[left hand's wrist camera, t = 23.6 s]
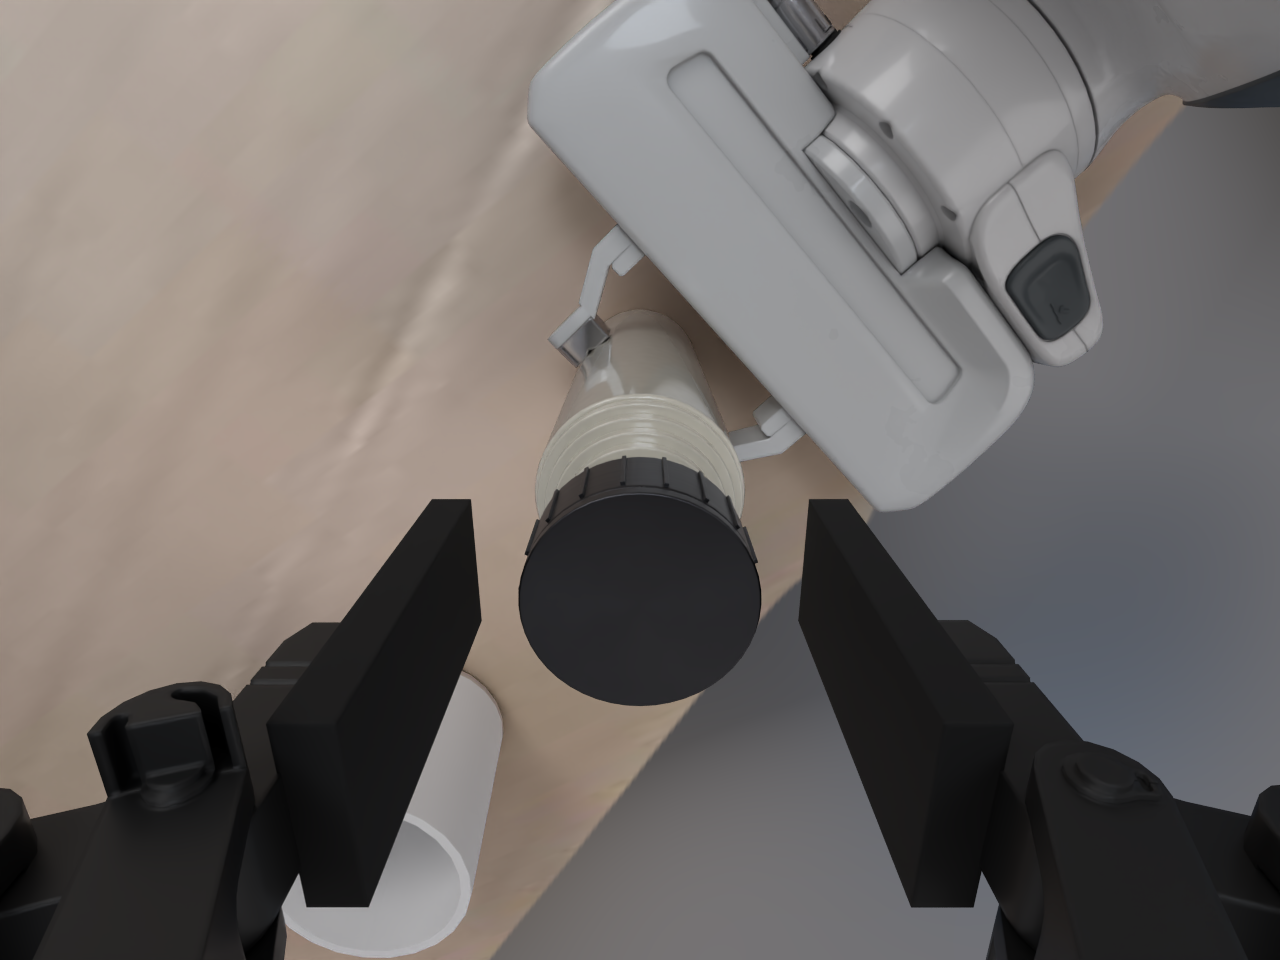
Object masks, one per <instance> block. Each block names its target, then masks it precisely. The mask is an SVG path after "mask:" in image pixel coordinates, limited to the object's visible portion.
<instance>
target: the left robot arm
mask: <svg viewBox="0 0 1280 960" xmlns="http://www.w3.org/2000/svg"><path fill="white" fill-rule="evenodd" d="M481 621H482V619H481V608H480V597H479V586H478V574H477V563H476V552H475V540H474V529H473V518H472V506H471V499H432V500H431V501H430V503H429V504H428V505H427V507H426V508H425V509H424V511H423V512H422V513H421V515H420V516H419V518H418V519H417V520H416V522H415V523H414V524H413V526H412V527H411V528H410V530H409V531H408V532H407V534H406V535H405V536H404V538H403V539H402V540H401V542H400V543H399V545H398V546H397V547H396V549H395V550H394V551H393V553H392V554H391V555H390V557H389V558H388V559H387V561H386V562H385V563H384V565H383V566H382V567H381V569H380V570H379V572H378V573H377V574H376V576H375V577H374V578H373V580H372V581H371V582H370V584H369V585H368V586H367V588H366V589H365V590H364V592H363V593H362V594H361V596H360V597H359V599H358V600H357V601H356V603H355V604H354V605H353V607H352V608H351V609H350V611H349V612H348V613H347V615H346V616H345V617H344V619H343V620H342V621H341V623H311V624H310V625H308V626H306V627H305V628H303V629H302V630H300V631H299V632H297V633H295V634H294V635H292V636H291V637H289V638H288V639H286V640H285V641H283V643H282V644H281V645H280V646H279V647H278V648H277V650H276V651H275V652H274V653H273V654H272V656H271V657H270V658H269V659H268V660H267V662H266V666H265V667H261V669H260V670H259V671H258V672H257V673H256V675H255V676H254V677H253V678H252V679H251V683H250V685H246V686H245V688H244V689H243V690H242V691H241V692H240V694H239V695H238V696H237V697H236V698H235V699H234V701H232V697H231V693H229V692H228V691H227V690H226V689H224V688H223V687H222V686H221V685H218V684H212V683H207V682H202V681H200V682H188V683H176V684H172V685H169V686H165V687H161V688H157V689H154V690H150V691H148V692H145V693H143V694H141V695H139V696H136V697H134V698H132V699H130V700H127V701H125V702H123V703H122V704H120V705H119V706H117V707H116V708H114V709H113V710H111V711H110V712H108V713H107V714H105V715H104V716H102V717H101V718H100V719H99V720H98V722H97V723H96V724H95V725H94V726H93V727H92V728H91V730H90V731H89V732H88V733H87V736H88V739H89V742H90V745H91V748H92V751H93V754H94V757H95V760H96V763H97V766H98V769H99V772H100V775H101V778H102V781H103V784H104V787H105V790H106V793H107V796H108V798H107V800H106V802H103V803H99V804H96V805H91V806H87V807H82V808H78V809H73V810H69V811H65V812H60V813H56V814H51V815H47V816H42V817H38V818H33V819H30V818H29V815H28V812H27V810H26V807H25V805H24V802H23V799H22V797H20V796H19V795H18V794H16V793H15V792H14V791H12V790H11V789H5V788H0V960H284V955H285V947H286V939H287V934H286V926H285V919H284V915H283V911H282V905H283V903H284V901H285V899H286V897H287V895H288V893H289V891H290V889H291V887H292V885H293V884H294V882H295V880H296V878H297V876H298V874H299V876H300V880H301V885H302V889H303V894H304V898H305V903H306V907H369V906H370V903H371V900H372V898H373V895H374V893H375V890H376V888H377V885H378V883H379V880H380V878H381V875H382V873H383V870H384V867H385V865H386V862H387V860H388V857H389V855H390V852H391V850H392V847H393V845H394V842H395V839H396V837H397V834H398V832H399V829H400V827H401V824H402V822H403V819H404V817H405V814H406V812H407V809H408V806H409V804H410V801H411V799H412V796H413V794H414V791H415V789H416V786H417V784H418V781H419V779H420V776H421V773H422V771H423V768H424V766H425V763H426V761H427V758H428V756H429V753H430V751H431V748H432V746H433V743H434V740H435V738H436V735H437V733H438V730H439V728H440V725H441V723H442V720H443V718H444V715H445V713H446V710H447V707H448V705H449V702H450V700H451V697H452V695H453V692H454V690H455V687H456V685H457V682H458V680H459V677H460V674H461V672H462V669H463V667H464V664H465V662H466V659H467V657H468V654H469V652H470V649H471V647H472V644H473V641H474V639H475V636H476V634H477V631H478V629H479V626H480V624H481ZM798 621H799V624H800V626H801V629H802V631H803V634H804V636H805V639H806V641H807V644H808V647H809V649H810V652H811V654H812V657H813V659H814V662H815V664H816V667H817V669H818V672H819V674H820V677H821V679H822V682H823V685H824V687H825V690H826V692H827V695H828V697H829V700H830V702H831V705H832V707H833V710H834V713H835V715H836V718H837V720H838V723H839V725H840V728H841V730H842V733H843V735H844V738H845V740H846V743H847V745H848V748H849V750H850V753H851V756H852V758H853V761H854V763H855V766H856V768H857V771H858V773H859V776H860V778H861V781H862V784H863V786H864V789H865V791H866V794H867V796H868V799H869V801H870V804H871V806H872V809H873V812H874V814H875V817H876V819H877V822H878V824H879V827H880V829H881V832H882V834H883V837H884V839H885V842H886V845H887V847H888V850H889V852H890V855H891V857H892V860H893V862H894V865H895V867H896V870H897V872H898V875H899V878H900V880H901V883H902V885H903V888H904V890H905V893H906V895H907V898H908V900H909V903H910V906H911V907H974V903H975V898H976V894H977V889H978V885H979V880H980V876H981V871H982V872H983V874H984V876H985V878H986V880H987V882H988V884H989V885H990V887H991V889H992V891H993V893H994V895H995V897H996V899H997V901H998V903H999V907H998V911H997V915H996V919H995V923H994V928H993V932H992V936H991V940H990V944H989V949H988V953H987V957H986V960H1280V785H1275V786H1270V787H1269V788H1267V789H1266V790H1265V791H1263V792H1262V793H1261V794H1259V797H1258V799H1257V802H1256V805H1255V807H1254V810H1253V812H1252V815H1251V816H1248V815H1244V814H1239V813H1235V812H1230V811H1225V810H1221V809H1217V808H1212V807H1207V806H1203V805H1198V804H1194V803H1190V802H1185V801H1181V800H1178V799H1175V798H1173V796H1172V795H1171V794H1170V792H1169V791H1168V790H1167V788H1166V787H1165V786H1164V784H1163V783H1162V781H1161V780H1160V779H1159V778H1158V777H1157V776H1156V775H1154V774H1153V773H1152V772H1150V771H1149V770H1148V769H1147V768H1145V767H1144V766H1143V765H1142V764H1140V763H1139V762H1137V761H1135V760H1133V759H1131V758H1129V757H1127V756H1125V755H1123V754H1121V753H1120V752H1118V751H1116V750H1114V749H1110V748H1107V747H1104V746H1100V745H1097V744H1094V743H1091V742H1086V741H1083V740H1082V739H1081V737H1080V736H1079V735H1078V734H1077V733H1076V731H1075V730H1074V729H1073V728H1072V727H1071V726H1070V724H1069V723H1068V722H1067V721H1066V720H1065V719H1064V717H1063V716H1062V715H1061V714H1060V713H1059V712H1058V710H1057V709H1056V708H1055V707H1054V706H1053V704H1052V703H1051V702H1050V701H1049V700H1048V698H1047V697H1046V696H1045V695H1044V694H1043V693H1042V691H1041V690H1040V689H1039V688H1038V687H1037V686H1036V684H1035V683H1034V682H1030V677H1029V676H1028V675H1027V674H1026V673H1025V671H1024V670H1023V669H1022V668H1021V667H1020V666H1019V665H1018V664H1015V660H1014V658H1013V657H1012V656H1011V655H1010V654H1009V653H1008V651H1007V650H1006V649H1005V648H1004V647H1003V645H1002V644H1001V643H1000V642H999V641H998V640H997V639H996V638H995V637H993V636H992V635H990V634H989V633H987V632H986V631H984V630H982V629H981V628H979V627H978V626H976V625H975V624H973V623H971V622H970V621H968V620H937V619H936V617H935V616H934V615H933V613H932V612H931V611H930V609H929V608H928V607H927V605H926V604H925V603H924V601H923V600H922V599H921V597H920V596H919V594H918V593H917V592H916V590H915V589H914V588H913V586H912V585H911V584H910V582H909V581H908V580H907V578H906V577H905V576H904V574H903V573H902V572H901V570H900V569H899V567H898V566H897V565H896V563H895V562H894V561H893V560H892V558H891V557H890V555H889V554H888V553H887V551H886V550H885V549H884V547H883V546H882V545H881V543H880V542H879V540H878V539H877V538H876V536H875V535H874V534H873V532H872V531H871V530H870V528H869V527H868V526H867V524H866V523H865V522H864V520H863V519H862V518H861V516H860V515H859V513H858V512H857V511H856V509H855V508H854V507H853V505H852V504H851V503H850V501H849V500H848V499H809V507H808V518H807V529H806V540H805V552H804V563H803V574H802V586H801V597H800V608H799V619H798Z"/></svg>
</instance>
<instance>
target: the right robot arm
mask: <svg viewBox="0 0 1280 960" xmlns="http://www.w3.org/2000/svg"><path fill="white" fill-rule="evenodd" d="M810 54H811V55H812V58H811V60H812V61H810V62H809V63H808V64H807V65H806V66H805V67H803V66H802V64H803V63H804V62H805V61H806V60H807V59H808V58H809V57H810V56H809V55H810ZM1163 95H1175V96H1178V97H1180V98H1181V99H1182V100H1183V105H1188V106H1195V107H1206V108H1257V107H1280V0H871V1H870V2H869V3H868V4H867V5H866V6H865V7H864V8H863V9H862V10H861V11H860V12H859V13H858V14H857V15H856V16H855V17H854V18H853V19H852V20H851V21H850V22H849V23H848V24H847V25H846V26H845V27H844V28H843V29H842V30H839V31H837V30H836V29H835V28H834V27H833V26H832V24H831V22H830V21H829V19H828V18H827V17H826V15H824V13H823V12H822V11H821V9H820V8H819V7H818V5H817V4H816V2H815V1H814V0H615V1H614V2H613V3H611V4H610V5H609V6H608V7H607V8H605V9H604V10H603V11H602V12H601V13H599V14H598V15H597V16H596V17H595V18H593V19H592V20H591V21H590V22H589V23H588V24H586V25H585V26H584V27H583V28H582V29H581V30H580V31H579V32H578V33H576V34H575V35H574V36H573V37H572V38H571V39H570V40H569V41H568V42H567V43H566V44H565V45H563V46H562V47H561V48H560V50H559V51H558V52H557V53H556V54H555V55H554V56H553V57H552V58H551V59H550V60H549V61H548V62H547V63H546V64H545V65H544V66H543V67H542V68H541V69H540V70H539V71H538V72H537V74H536V75H535V76H534V77H533V79H532V81H531V83H530V86H529V92H528V107H527V120H528V123H529V125H530V127H531V128H532V129H533V130H534V131H535V132H536V134H537V135H538V136H539V137H540V138H541V139H542V140H543V141H544V142H545V144H546V145H547V146H548V147H549V148H550V149H551V150H552V151H553V152H554V154H555V155H556V156H557V157H558V158H559V159H560V160H561V161H562V162H563V164H564V165H565V166H566V167H567V168H568V169H569V170H570V171H571V172H572V174H573V175H574V176H575V177H576V178H577V179H578V180H579V181H580V182H581V184H582V185H583V186H584V187H585V188H586V189H587V190H588V191H589V192H590V194H591V195H592V196H593V197H594V198H595V199H596V200H597V201H598V202H599V204H600V205H601V206H602V207H603V208H604V209H605V210H606V211H607V212H608V214H609V215H610V216H611V217H612V218H613V219H614V220H615V221H616V222H617V225H616V226H615V227H614V228H613V229H612V230H611V231H610V232H609V233H608V234H607V235H606V236H605V237H604V238H603V239H602V240H601V241H600V242H599V243H598V244H597V245H596V246H595V247H594V248H593V251H592V255H591V259H590V263H589V266H588V270H587V274H586V278H585V281H584V285H583V289H582V293H581V296H580V300H579V304H580V306H579V307H578V308H577V309H576V310H575V311H574V312H573V313H572V314H571V315H570V316H569V317H568V318H567V319H566V320H565V321H564V322H563V323H562V324H561V325H560V326H559V327H558V328H557V329H556V330H555V331H554V332H553V333H552V335H551V336H550V337H549V338H548V339H547V340H548V341H549V342H550V343H551V344H552V345H553V346H554V347H555V348H556V349H557V350H558V351H559V352H560V353H561V354H562V355H563V356H564V357H565V358H566V359H567V360H568V361H569V362H570V363H571V364H572V365H573V366H574V367H575V368H576V367H578V366H579V365H580V364H581V363H582V362H583V361H584V360H585V358H586V357H587V356H588V354H589V351H590V350H593V349H595V348H597V347H598V346H599V345H601V344H602V343H603V342H604V341H605V340H606V339H607V338H608V337H609V335H610V334H609V333H610V330H611V329H610V328H609V327H608V326H607V325H606V324H605V323H604V322H603V320H602V319H601V318H600V317H599V316H598V315H597V311H598V307H599V304H600V300H601V297H602V293H603V290H604V286H605V282H606V279H607V275H608V272H609V268H610V265H611V264H612V269H613V270H614V271H615V272H616V273H617V274H618V275H619V276H624V275H625V274H626V273H627V272H628V271H629V270H630V269H631V268H632V267H633V266H634V265H635V264H636V263H637V262H638V261H639V260H641V259H642V258H643V257H644V256H645V255H646V256H647V257H648V258H649V259H650V260H651V261H652V262H653V264H654V265H655V266H656V267H657V268H658V269H659V270H660V271H661V272H662V274H663V275H664V276H665V277H666V278H667V279H668V280H669V281H670V282H671V284H672V285H673V286H674V287H675V288H676V289H677V290H678V291H679V292H680V294H681V295H682V296H683V297H684V298H685V299H686V300H687V301H688V302H689V304H690V305H691V306H692V307H693V308H694V309H695V310H696V311H697V312H698V314H699V315H700V316H701V317H702V318H703V319H704V320H705V321H706V322H707V324H708V325H709V326H710V327H711V328H712V329H713V330H714V331H715V332H716V334H717V335H718V336H719V337H720V338H721V339H722V340H723V341H724V342H725V344H726V345H727V346H728V347H729V348H730V349H731V350H732V351H733V352H734V354H735V355H736V356H737V357H738V358H739V359H740V360H741V361H742V362H743V364H744V365H745V366H746V367H747V368H748V369H749V370H750V371H751V372H752V374H753V375H754V376H755V377H756V378H757V379H758V380H759V381H760V382H761V384H762V385H763V386H764V387H765V388H766V389H767V390H768V391H769V392H770V394H771V396H770V397H769V398H768V399H767V400H765V401H764V402H763V403H762V404H761V405H760V406H759V407H758V408H757V409H755V410H754V411H753V417H754V418H755V420H756V422H757V423H758V425H755V426H751V427H747V428H743V429H739V430H735V431H731V432H728V433H729V436H730V438H731V441H732V443H733V446H734V448H735V450H736V453H737V456H738V458H739V461H740V462H742V461H747V460H752V459H757V458H762V457H767V456H772V455H777V454H782V453H783V452H784V451H785V450H787V449H788V448H789V447H790V446H791V445H793V444H794V443H795V442H796V441H797V440H799V439H800V438H801V437H802V436H803V435H805V434H807V435H808V436H809V437H810V438H811V439H812V440H813V441H814V442H815V444H816V445H817V446H818V447H819V448H820V449H821V450H822V451H823V452H824V454H825V455H826V456H827V457H828V458H829V459H830V460H831V461H832V462H833V464H834V465H835V466H836V467H837V468H838V469H839V470H840V471H841V472H842V474H843V475H844V476H845V477H846V478H847V479H848V480H849V481H850V482H851V484H852V485H853V486H854V487H855V488H856V489H857V490H858V491H859V492H860V494H861V495H862V496H863V497H864V498H865V499H866V500H867V501H868V502H869V503H870V505H871V506H872V507H873V508H874V509H875V510H876V511H878V512H894V511H903V510H910V509H913V508H915V507H917V506H919V505H921V504H922V503H924V502H925V501H927V500H928V499H929V498H931V497H932V496H933V495H935V494H936V493H937V492H939V491H940V490H941V489H942V488H944V487H945V486H946V485H947V484H949V483H950V482H951V481H952V480H953V479H955V478H956V477H957V476H958V475H959V474H961V473H962V472H963V471H964V470H965V469H966V468H968V467H969V466H970V465H971V464H972V463H973V462H974V461H975V460H977V459H978V458H979V457H980V456H981V455H982V454H983V453H984V452H985V451H987V450H988V449H989V448H990V447H991V446H992V445H993V444H994V443H995V442H996V441H997V440H998V439H999V438H1000V437H1001V436H1002V435H1003V434H1004V433H1005V432H1006V431H1007V430H1008V429H1009V428H1010V427H1011V426H1012V425H1013V424H1014V422H1015V421H1016V420H1017V419H1018V417H1019V416H1020V415H1021V414H1022V412H1023V411H1024V409H1025V407H1026V406H1027V404H1028V402H1029V400H1030V397H1031V394H1032V391H1033V388H1034V381H1035V374H1034V366H1033V362H1034V363H1038V364H1043V365H1048V366H1053V367H1062V366H1065V365H1068V364H1070V363H1072V362H1074V361H1075V360H1077V359H1078V358H1080V357H1081V356H1082V355H1084V354H1085V353H1086V352H1088V351H1089V350H1090V349H1091V348H1092V347H1093V346H1094V345H1095V344H1096V343H1097V342H1098V340H1099V339H1100V337H1101V335H1102V331H1103V316H1102V311H1101V307H1100V303H1099V299H1098V295H1097V291H1096V287H1095V283H1094V280H1093V275H1092V272H1091V268H1090V263H1089V259H1088V255H1087V250H1086V246H1085V241H1084V236H1083V231H1082V226H1081V220H1080V215H1079V209H1078V202H1077V194H1076V187H1075V180H1074V179H1075V178H1076V177H1077V176H1078V175H1080V174H1081V173H1082V172H1083V171H1084V170H1085V169H1086V168H1087V167H1088V166H1089V165H1090V164H1091V163H1092V162H1093V161H1094V159H1095V158H1096V157H1097V156H1098V154H1099V153H1100V152H1101V150H1102V149H1103V148H1104V147H1105V145H1106V144H1107V143H1108V141H1109V140H1110V139H1111V137H1112V136H1113V135H1114V133H1115V132H1116V131H1117V130H1118V129H1119V128H1120V126H1121V125H1122V124H1123V123H1124V122H1125V121H1126V120H1127V119H1129V118H1130V117H1131V116H1132V115H1133V114H1134V113H1136V112H1137V111H1138V110H1139V109H1141V108H1142V107H1143V106H1145V105H1146V104H1148V103H1150V102H1151V101H1153V100H1155V99H1156V98H1158V97H1160V96H1163Z"/></svg>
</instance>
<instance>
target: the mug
mask: <svg viewBox="0 0 1280 960" xmlns="http://www.w3.org/2000/svg"><path fill="white" fill-rule="evenodd" d="M502 737H503V718H502V715H501V712H500V710H499V707H498V705H497V702H496V701H495V699H494V698H493V696H492V695H491V694H490V692H489V691H488V690H487V688H486V687H485V686H484V685H483V684H481V683H480V682H479V681H478V680H476V679H475V678H474V677H473V676H471V675H470V674H467V673H465V672H463V671H462V672H461V674H460V677H459V680H458V682H457V685H456V687H455V690H454V692H453V695H452V697H451V700H450V702H449V705H448V707H447V710H446V713H445V715H444V718H443V720H442V723H441V725H440V728H439V730H438V733H437V735H436V738H435V740H434V743H433V746H432V748H431V751H430V753H429V756H428V758H427V761H426V763H425V766H424V768H423V771H422V773H421V776H420V779H419V781H418V784H417V786H416V789H415V791H414V794H413V796H412V799H411V801H410V804H409V806H408V809H407V812H406V814H405V817H404V819H403V822H402V824H401V827H400V829H399V832H398V834H397V837H396V839H395V842H394V845H393V847H392V850H391V852H390V855H389V857H388V860H387V862H386V865H385V867H384V870H383V873H382V875H381V878H380V880H379V883H378V885H377V888H376V890H375V893H374V895H373V898H372V900H371V903H370V906H369V907H306V903H305V898H304V894H303V889H302V885H301V880H300V876H299V874H298V876H297V878H296V880H295V882H294V884H293V885H292V887H291V889H290V891H289V893H288V895H287V897H286V899H285V901H284V903H283V905H282V911H283V915H284V919H285V924H286V925H287V926H288V927H289V928H290V929H292V930H293V931H295V932H296V933H298V934H300V935H301V936H303V937H304V938H306V939H307V940H309V941H310V942H312V943H315V944H317V945H320V946H322V947H325V948H327V949H330V950H332V951H335V952H338V953H343V954H348V955H353V956H358V957H368V958H391V957H397V956H402V955H408V954H414V953H416V952H419V951H421V950H424V949H426V948H429V947H431V946H433V945H436V944H437V943H439V942H440V941H441V940H443V939H444V938H445V937H447V936H448V935H449V934H451V933H452V932H453V931H454V930H455V929H456V927H457V926H458V924H459V923H460V922H461V920H462V919H463V917H464V916H465V915H466V911H467V908H468V904H469V901H470V897H471V894H472V890H473V885H474V880H475V875H476V870H477V865H478V859H479V854H480V849H481V844H482V839H483V834H484V829H485V824H486V819H487V814H488V809H489V803H490V798H491V793H492V788H493V783H494V778H495V773H496V768H497V763H498V758H499V752H500V747H501V742H502Z"/></svg>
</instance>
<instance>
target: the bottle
mask: <svg viewBox="0 0 1280 960" xmlns="http://www.w3.org/2000/svg"><path fill="white" fill-rule="evenodd" d="M604 323H605V324H606V325H607V326H608V327H609V328H610V329H611V330H610V333H609V334H610V335H609V337H608V338H607V339H606V340H605V341H604V342H603V343H602V344H601V345H599V346H598V347H597V348H595V349H593V350H590V351H589V354H588V356H587V357H586V358H585V360H584V361H583V362H582V363H581V364H580V365H579V368H578V370H577V372H576V375H575V377H574V380H573V382H572V385H571V387H570V389H569V392H568V394H567V397H566V399H565V402H564V404H563V406H562V409H561V411H560V414H559V416H558V419H557V421H556V423H555V426H554V428H553V431H552V433H551V436H550V438H549V440H548V443H547V445H546V448H545V450H544V453H543V455H542V458H541V460H540V463H539V466H538V471H537V475H536V483H535V501H536V507H537V512H538V516H539V519H540V518H541V516H542V514H543V512H544V510H545V508H546V507H547V505H548V504H549V502H550V501H551V499H552V497H553V494H554V491H555V490H556V489H558V490H560V489H561V488H562V487H563V486H564V485H565V484H566V483H568V482H569V481H570V480H571V479H572V478H574V477H576V476H577V475H579V474H580V473H582V472H583V471H584V468H586V467H589V468H592V467H594V466H596V465H598V464H601V463H604V462H608V461H611V460H616V459H621V458H622V456H625V455H626V456H627V458H629V457H651V458H659V459H662V457H666V458H667V460H669V461H672V462H675V463H678V464H682V465H684V466H686V467H688V468H690V469H693V470H695V471H696V472H699V471H701V472H703V475H704V477H706V478H707V479H709V480H710V481H711V482H712V483H713V484H715V485H716V486H717V487H718V488H719V489H720V490H721V491H722V492H723V494H724V495H725V496H728V495H729V496H730V497H731V500H732V503H733V506H734V508H735V510H736V513H737V515H738V517H739V519H741V516H742V511H743V506H744V497H745V485H744V476H743V471H742V467H741V463H740V461H739V458H738V456H737V453H736V450H735V448H734V446H733V443H732V441H731V438H730V436H729V433H728V431H727V429H726V426H725V424H724V421H723V419H722V416H721V414H720V412H719V409H718V407H717V404H716V402H715V399H714V397H713V395H712V392H711V390H710V387H709V385H708V382H707V380H706V378H705V375H704V373H703V370H702V368H701V365H700V363H699V361H698V358H697V356H696V353H695V351H694V348H693V346H692V344H691V341H690V340H689V338H688V336H687V334H686V333H685V332H684V330H683V329H682V328H681V327H680V326H679V325H678V324H677V323H676V322H674V321H673V320H672V319H670V318H669V317H667V316H665V315H663V314H660V313H658V312H654V311H650V310H630V311H626V312H622V313H619V314H617V315H615V316H613V317H611V318H610V319H608V320H607V321H605V322H604Z"/></svg>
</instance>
